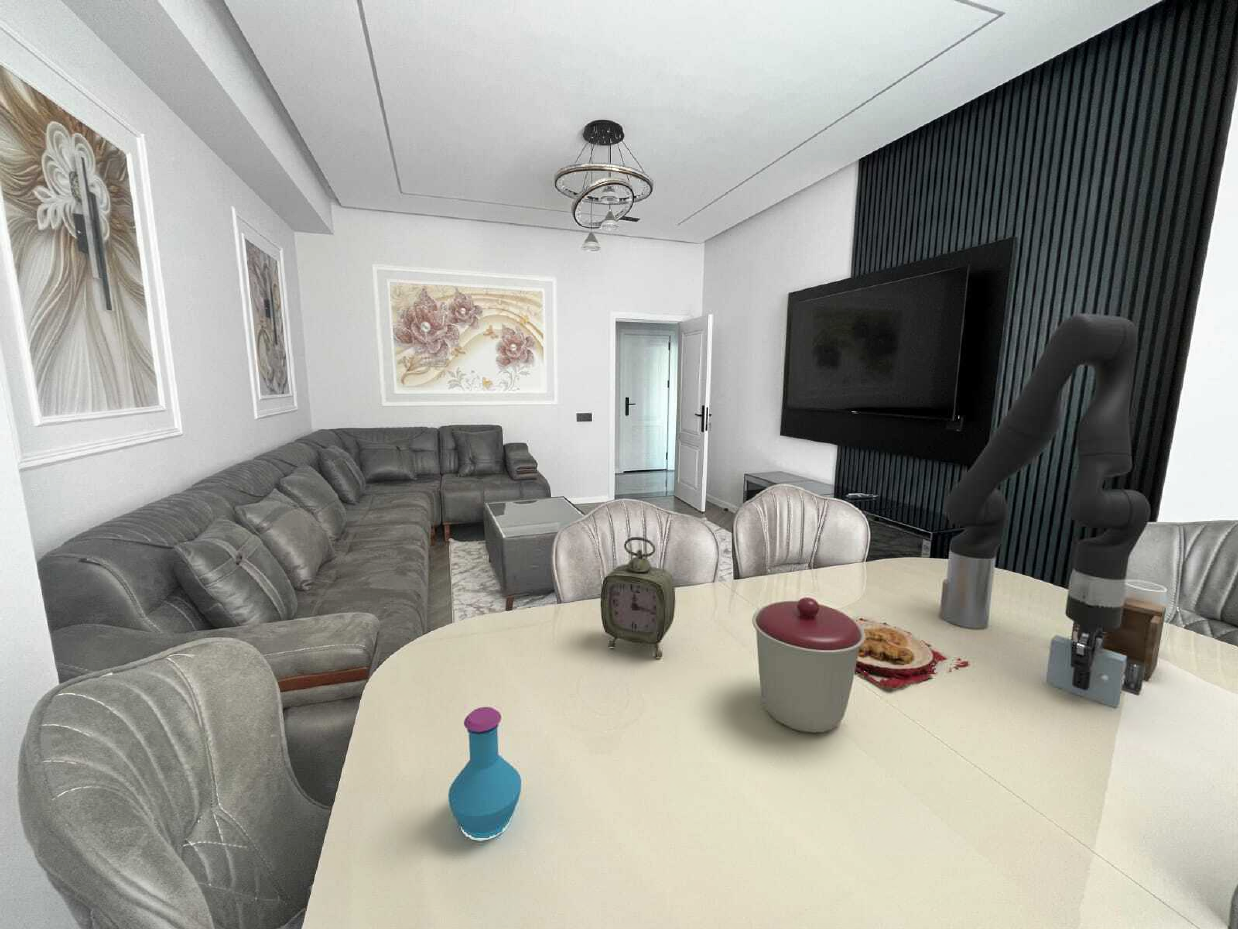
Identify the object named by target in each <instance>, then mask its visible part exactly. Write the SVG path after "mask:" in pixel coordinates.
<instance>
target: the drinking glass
mask: <svg viewBox="0 0 1238 929" xmlns="http://www.w3.org/2000/svg"><path fill="white" fill-rule="evenodd" d="M1125 584H1126V592H1125V597H1127V598H1131V599H1135V600H1140V601H1144V602H1148V603H1152V604H1157V605H1161V606H1165V607H1166V603H1167V598H1168V597H1167V595H1168V588H1166V586H1163V585H1160V584H1157V583H1154V582H1151V581H1146V580H1138V579H1126V580H1125Z"/></svg>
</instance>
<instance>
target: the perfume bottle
mask: <svg viewBox="0 0 1238 929" xmlns="http://www.w3.org/2000/svg"><path fill="white" fill-rule="evenodd" d="M501 720H502V715H501V713H500V711H498V710H497V709H495V708H493V707H491V706H480V707H478V708H475V709H474V710H472V711H470V712H469V714H468V715H467V716H466V717H465V718H464V720H463V726H464V727H465V728H466V730H467V733H468V741H469V742H468V744H469V746H468V747H469V748H468V749H469V760H468V761H467V763H466V764H465V765H464V767H463V768H462V769H461V770H460V772H459V773H458V775H457V776H456V777H455V778H454V780H453V781H452V783H451V785H450V787H449V789H448V803H449V804H448V805H449V808H450V810H451V812H452V814H453V816H454V818H455V819H456V822H457V824H458V825H459V827H460V828H461V827H462V829H463V830H464V832H466V833H467V834H468V835H471V836H472V837H474V838H489V837H490V836H493V835H497V834H498V833H500V832H502V830H503V828H505V827H506V825H507V824H508V823H509V821H510V818H511V816H512V817H513V814H514V812H515V810H516V807H517V804H518V802H519V799H520V795H521V791H522V778H521V775H520V773H519V771H518V770H517V769H515V767H514V766H513V765H511V764H510V763H509V762H508V761H507V760H505V759H504V757H502V756H501V755H500V754H499V740H498V739H499V738H498V737H499V736H498V728H499V723H500V722H501Z"/></svg>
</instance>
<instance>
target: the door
mask: <svg viewBox="0 0 1238 929" xmlns="http://www.w3.org/2000/svg"><path fill="white" fill-rule="evenodd" d="M1073 641H1074V640H1072V639H1071V638H1067V637H1064V636H1061V635H1058V634H1055V635H1054V636H1053V637H1052V638H1051V641H1050V646H1049V655H1048V661H1047V669H1046V675H1045V676H1046V677H1045V684H1047V685H1050V686H1052V687H1056V688H1058V689H1061V690H1063V691H1067V692H1069V693H1072V694H1076V695H1078V696H1080V697H1084V698H1087V699H1089V700H1092V701H1095V702H1098V703H1100V704H1103V705H1105V706H1109V707H1112V708H1114V709H1117V708H1118V706H1119V704H1120V702H1121V694H1122V691H1123V690H1122V685H1123V682H1124V676H1125V674H1124V671H1125V665H1126V659H1127V656H1125V655H1122V654H1119V653H1115V652H1112V651H1109V650H1105V649H1099V653H1098V659H1097V660H1095V661H1093V666H1092V668H1093V670H1092V671H1091V675H1090V682H1089V688H1088V690H1082V689H1080V688H1077V687H1074V686H1073V685H1072V681H1073V674H1074V668H1073V667H1071V665H1070V664H1071V643H1072V642H1073ZM1093 654H1094V652H1093V653H1091V655H1093ZM1079 662H1081V661H1079ZM1081 663H1084V662H1081ZM1084 664H1085V663H1084Z"/></svg>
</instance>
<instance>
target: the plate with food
mask: <svg viewBox="0 0 1238 929" xmlns="http://www.w3.org/2000/svg"><path fill="white" fill-rule="evenodd" d="M852 619H853V620H854V621H856V622H857V623H858V624H859V625H860V626H861V627H862V628H863V630H864V632H865V635H866V639H865V642H864V643H863V645H862V646H861V647H860V648H859V654H858V659H857V663H856V668H855V669H856V670H855V673H856V672H857V673H856V675H857V674H858V675H859V676H858V675H857V676H858V677H861V676H862V678H865V677H866V678H865V679H868V680H869V681H871V682H872V683H875V684H876V685H877V686H880V687H883V688H885V689H886V688H888V687H889V688H890V689H892V690H894V689H895V688H900V686H907V685H909V684H911V682H913V683H915V684H916V683H919V682H923V681H925V680H928V679H929V680H932V679H933V677H931V676H928V675H934V676H936V675H938V672H935V670H936V671H937V668H935V667H937V664H938V663H940V662H943V661H946V660H948V658H947V657H946V656H944V655H942V654H941V653H939V652H938V651H935V650H933V649H931V648H930V647H933V646H932V645H931V644H929V643H927V642H926V641H924V640H922V639H919V638H917V637H916V636H915V635H914V634H912V633H911V632H909V631H906V630H903V629H901V628H899V627H896V626H894V627H893V626H891V625H889V624H888V623H887V622H883V623H882V622H881V623H880V622H876V621H872V620H871V621H869V620H868V619H864V618H862V617H860V618H858V619H859V620H860V621H859V620H858V619H856V620H855V618H852ZM954 659H955V660H956V664H955V663H954V665H955V666H952V668H951V667H949V668H948V669H947V674H949V673H952V669H955V670H956V671H957V670H959V667H965V666H968V665H969V664H970V661H968V660H966V661H965V660H964V661H962V659H961V657H958V658H954ZM951 661H954V660H951ZM957 661H958V662H957ZM954 662H955V661H954ZM950 665H953V664H952V663H950ZM864 671H865V672H864ZM869 674H870V675H874V674H875V676H879V675H880V677H884V678H888V679H884V678H881V679H880V680H879V681H878V680H876V679H875V678H874V677H872V676H869ZM863 676H864V677H863Z"/></svg>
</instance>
